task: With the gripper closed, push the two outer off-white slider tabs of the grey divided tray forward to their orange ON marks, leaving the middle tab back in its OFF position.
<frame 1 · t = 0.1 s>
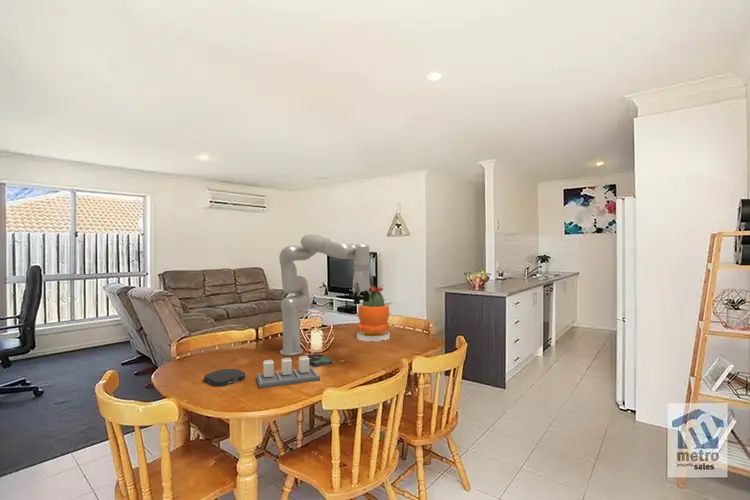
hand: (361, 302, 189), 31 cm above the table, tool pointing down, fingers open, 9 cm apart
tab C: (304, 363, 174), point 5 cm above the table, slide at 0.0 cm
media streaming box: (225, 380, 167), on the table
tab A: (268, 367, 168), point 5 cm above the table, slide at 0.0 cm
grey divided tray: (287, 379, 168), on the table
potted cactus: (374, 339, 242), on the table
tab B: (286, 365, 171), point 5 cm above the table, slide at 0.0 cm
disk drive: (316, 363, 193), on the table
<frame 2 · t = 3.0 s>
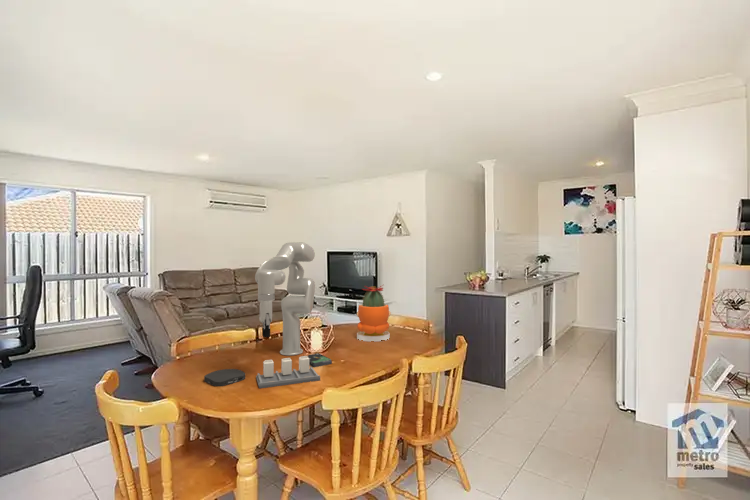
hand: (266, 336, 176), 17 cm above the table, tool pointing down, fingers closed
nothing on the table moved.
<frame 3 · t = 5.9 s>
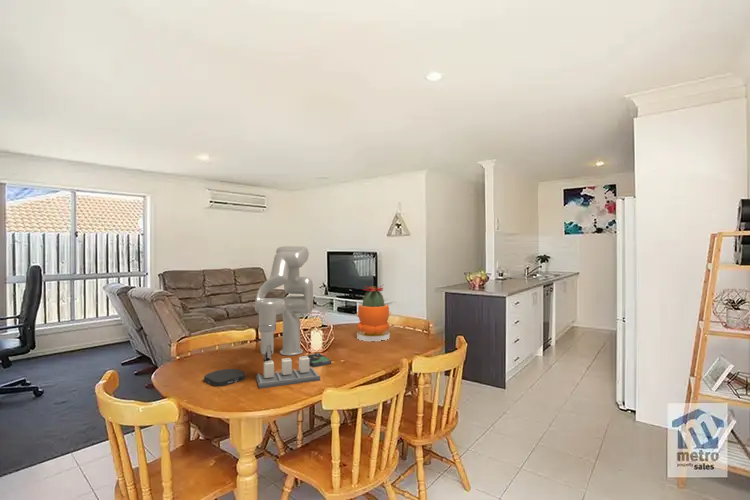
hand: (267, 368, 171), 4 cm above the table, tool pointing down, fingers closed
tab A: (268, 368, 167), point 5 cm above the table, slide at 0.9 cm, touching gripper
everything else where it was.
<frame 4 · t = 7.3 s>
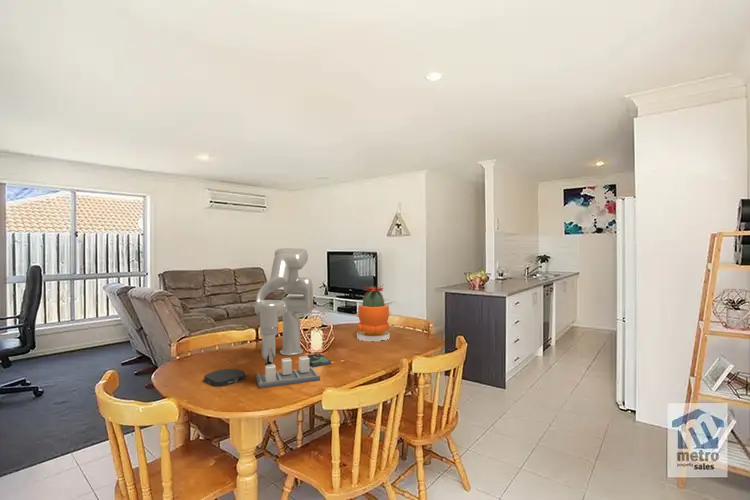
hand: (269, 372, 166), 4 cm above the table, tool pointing down, fingers closed
tab A: (270, 372, 162), point 5 cm above the table, slide at 6.6 cm, touching gripper
everything else where it was.
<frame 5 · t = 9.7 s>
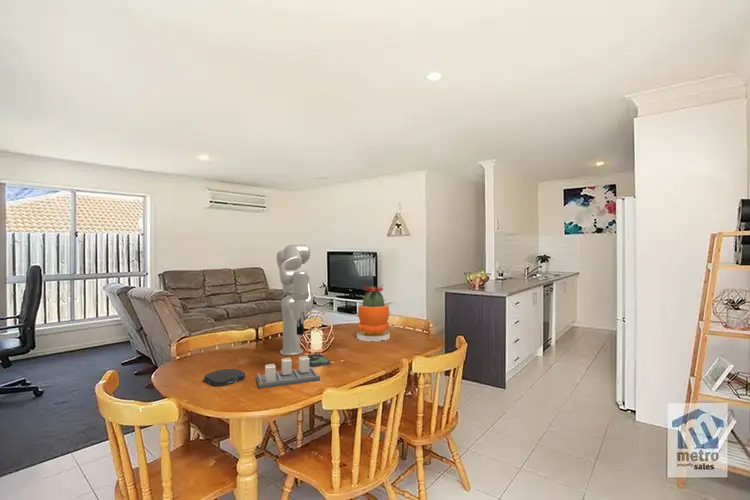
hand: (300, 334, 182), 17 cm above the table, tool pointing down, fingers closed
tab A: (270, 372, 162), point 5 cm above the table, slide at 6.6 cm
everything else where it was.
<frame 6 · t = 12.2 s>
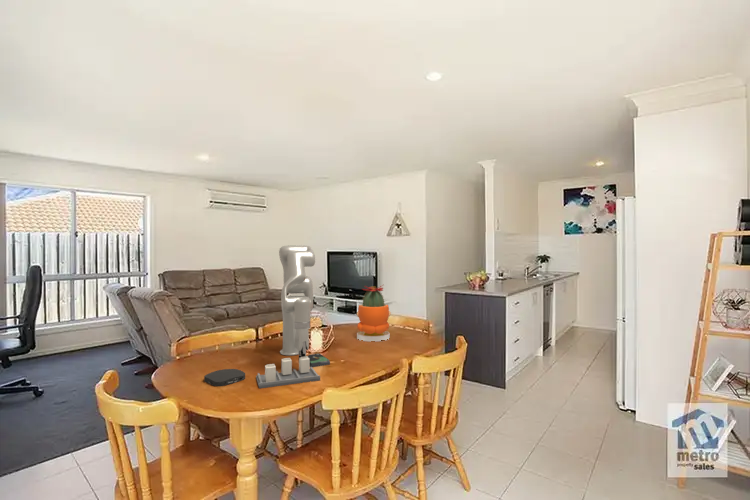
hand: (302, 363, 178), 4 cm above the table, tool pointing down, fingers closed
tab C: (304, 364, 174), point 5 cm above the table, slide at 0.4 cm, touching gripper
everything else where it was.
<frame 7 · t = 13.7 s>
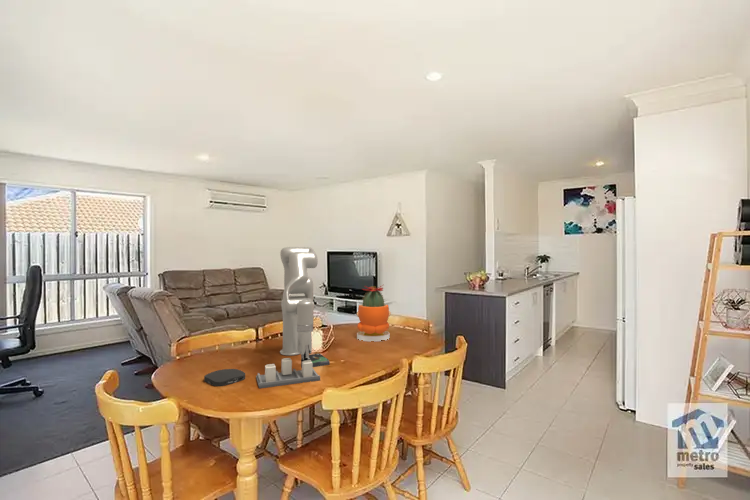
hand: (305, 367, 172), 4 cm above the table, tool pointing down, fingers closed
tab C: (307, 367, 168), point 5 cm above the table, slide at 6.6 cm, touching gripper
everything else where it was.
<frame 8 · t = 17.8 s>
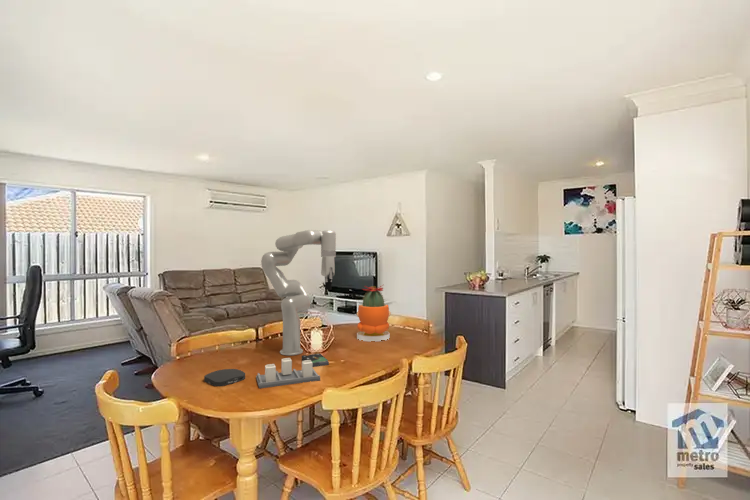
hand: (328, 289, 195), 37 cm above the table, tool pointing down, fingers closed
tab C: (307, 368, 168), point 5 cm above the table, slide at 6.6 cm
at the end: tab A slide at 6.6 cm; tab C slide at 6.6 cm; tab B slide at 0.0 cm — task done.
